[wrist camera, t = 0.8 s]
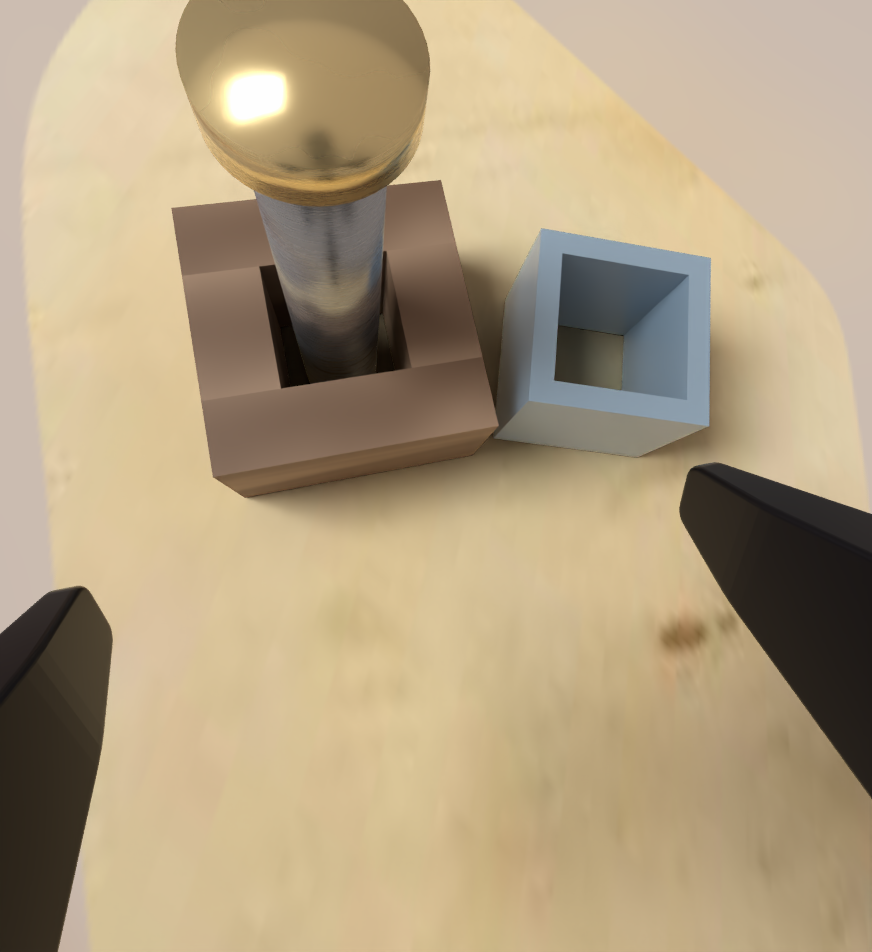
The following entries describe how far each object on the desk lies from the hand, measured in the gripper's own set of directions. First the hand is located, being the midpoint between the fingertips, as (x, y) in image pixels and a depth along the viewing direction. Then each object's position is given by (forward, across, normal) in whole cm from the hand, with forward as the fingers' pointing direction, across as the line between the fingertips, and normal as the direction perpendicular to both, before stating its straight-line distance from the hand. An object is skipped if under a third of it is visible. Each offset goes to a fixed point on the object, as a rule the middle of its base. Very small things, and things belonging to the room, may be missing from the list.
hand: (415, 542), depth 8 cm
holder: (+14, -9, +5) cm, 17 cm away
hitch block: (+15, 0, +4) cm, 16 cm away
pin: (+15, 0, +4) cm, 16 cm away
